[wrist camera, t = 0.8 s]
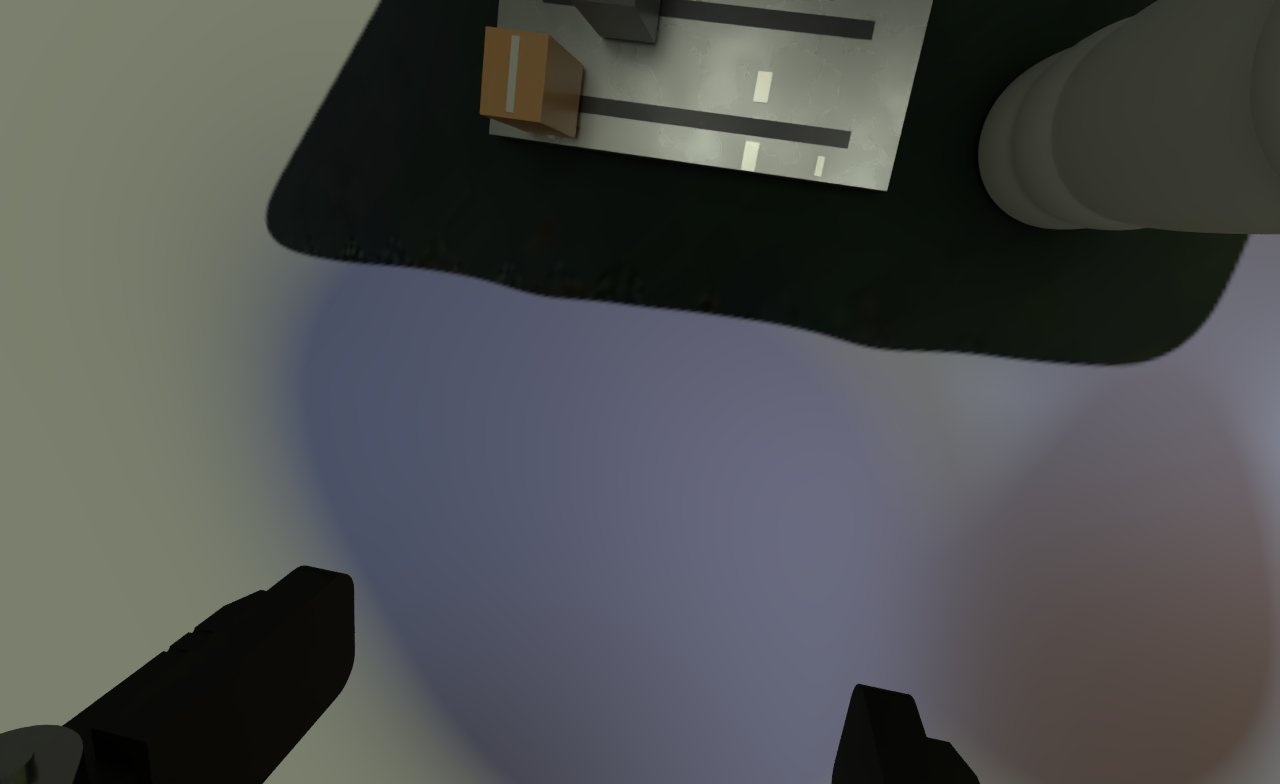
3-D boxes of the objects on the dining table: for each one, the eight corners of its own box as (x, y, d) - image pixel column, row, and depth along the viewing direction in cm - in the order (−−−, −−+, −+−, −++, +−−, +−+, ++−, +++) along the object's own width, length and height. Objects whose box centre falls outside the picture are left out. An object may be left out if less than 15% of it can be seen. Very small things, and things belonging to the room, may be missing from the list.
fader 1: (530, 58, 29) (484, 25, 24) (583, 65, 28) (547, 33, 23) (523, 131, 29) (478, 113, 25) (575, 138, 29) (539, 122, 24)
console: (519, -46, 30) (503, -66, 28) (924, -3, 28) (938, -21, 26) (504, 139, 32) (488, 133, 30) (878, 192, 30) (887, 190, 28)
